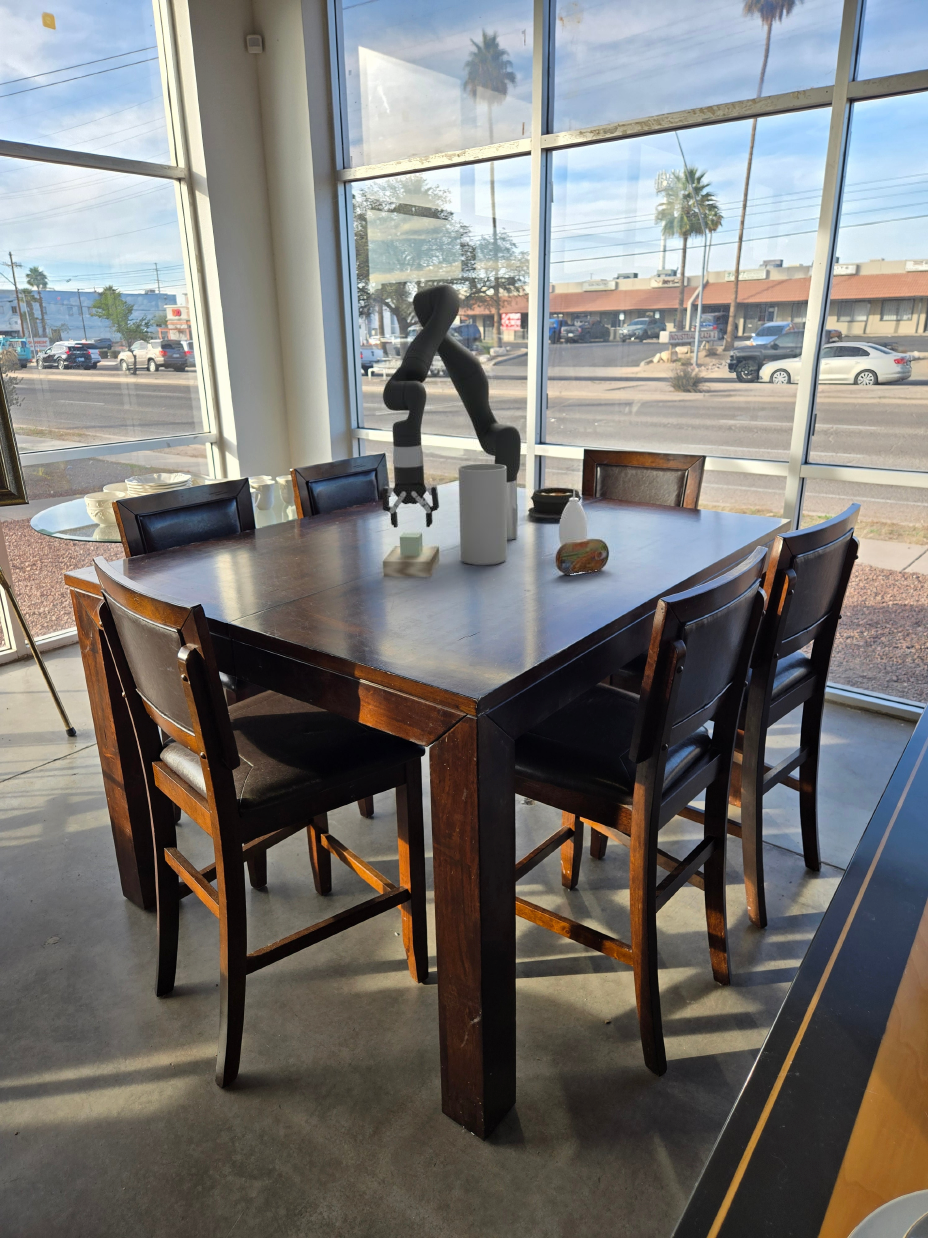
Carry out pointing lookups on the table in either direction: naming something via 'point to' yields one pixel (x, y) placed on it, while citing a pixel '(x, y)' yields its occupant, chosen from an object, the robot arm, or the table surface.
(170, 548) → the table surface
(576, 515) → the sauce bottle
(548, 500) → the casserole
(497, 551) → the cylinder vase
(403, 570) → the base block
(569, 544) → the tin
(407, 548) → the cube
